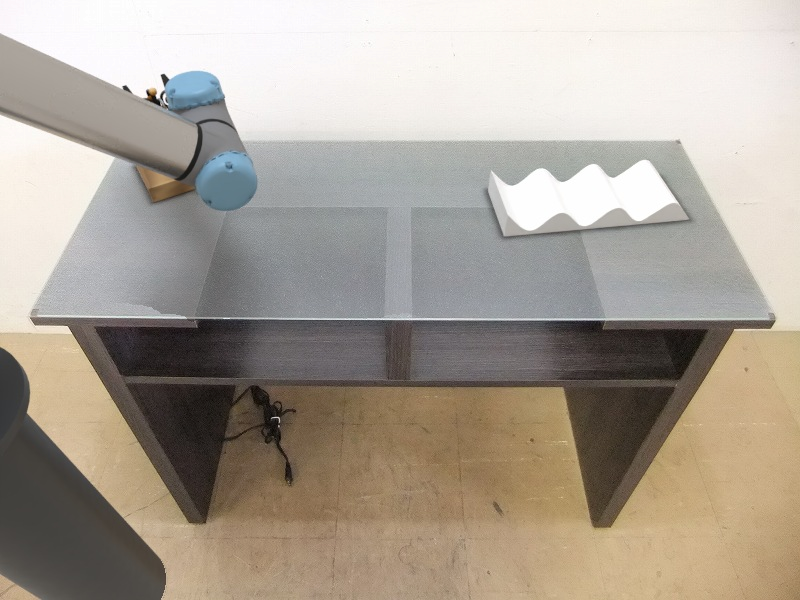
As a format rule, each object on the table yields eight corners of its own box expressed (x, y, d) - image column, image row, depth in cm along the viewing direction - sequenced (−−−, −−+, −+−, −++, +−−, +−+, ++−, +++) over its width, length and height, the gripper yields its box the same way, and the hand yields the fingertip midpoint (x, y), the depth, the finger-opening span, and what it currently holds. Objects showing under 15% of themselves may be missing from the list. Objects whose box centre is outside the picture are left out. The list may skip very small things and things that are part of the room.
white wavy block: (689, 219, 110) (699, 197, 106) (503, 236, 108) (507, 214, 104) (659, 176, 119) (668, 154, 115) (487, 191, 116) (490, 169, 112)
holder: (153, 202, 115) (147, 189, 112) (135, 166, 122) (130, 152, 120) (221, 180, 119) (217, 166, 117) (200, 146, 127) (196, 133, 124)
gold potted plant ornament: (145, 134, 110) (134, 93, 104) (154, 120, 113) (144, 79, 107) (171, 136, 110) (162, 96, 104) (179, 122, 113) (170, 82, 107)
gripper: (143, 185, 96) (100, 121, 109) (252, 145, 104) (200, 89, 116) (126, 145, 91) (84, 83, 103) (243, 106, 98) (190, 52, 111)
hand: (145, 86), depth 110 cm, fingers closed on gold potted plant ornament, 6 cm apart
